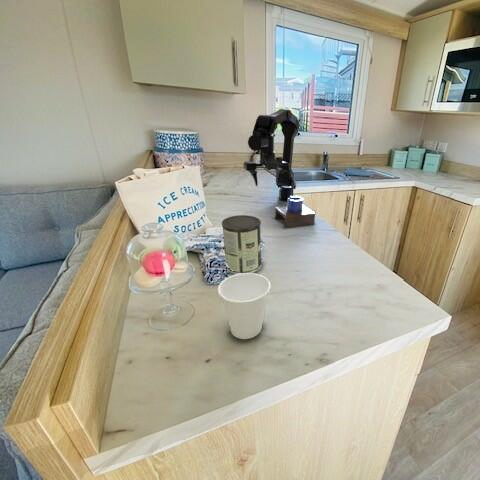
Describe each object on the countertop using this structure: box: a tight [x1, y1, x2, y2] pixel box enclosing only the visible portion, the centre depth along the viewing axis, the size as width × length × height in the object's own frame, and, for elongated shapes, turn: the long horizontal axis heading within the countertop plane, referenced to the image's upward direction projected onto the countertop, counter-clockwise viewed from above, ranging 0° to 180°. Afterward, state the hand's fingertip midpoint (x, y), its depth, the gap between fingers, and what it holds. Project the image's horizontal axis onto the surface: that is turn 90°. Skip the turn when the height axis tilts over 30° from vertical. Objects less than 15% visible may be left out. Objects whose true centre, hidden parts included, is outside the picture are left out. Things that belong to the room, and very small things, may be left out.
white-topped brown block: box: [274, 204, 316, 229], centre depth 116 cm, size 13×12×5 cm
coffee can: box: [221, 214, 262, 275], centre depth 78 cm, size 10×10×14 cm
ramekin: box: [286, 195, 304, 213], centre depth 114 cm, size 6×6×5 cm
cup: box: [217, 272, 272, 340], centre depth 55 cm, size 10×10×11 cm
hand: (267, 185), depth 120 cm, fingers open, 9 cm apart
